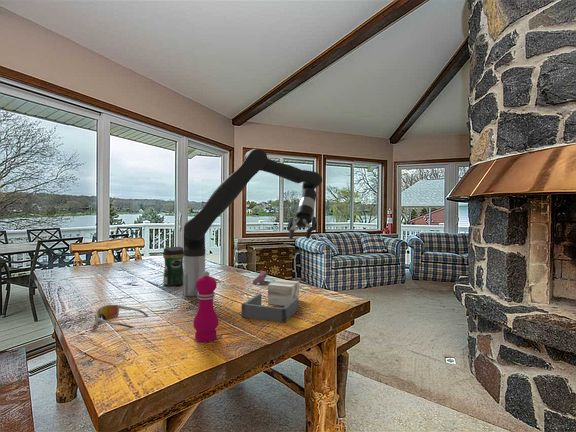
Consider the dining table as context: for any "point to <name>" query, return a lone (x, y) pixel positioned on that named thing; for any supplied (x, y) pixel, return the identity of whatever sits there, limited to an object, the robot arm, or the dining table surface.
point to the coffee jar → (173, 266)
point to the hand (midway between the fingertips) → (298, 238)
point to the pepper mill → (206, 309)
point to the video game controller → (260, 277)
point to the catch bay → (268, 310)
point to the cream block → (282, 292)
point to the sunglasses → (111, 314)
